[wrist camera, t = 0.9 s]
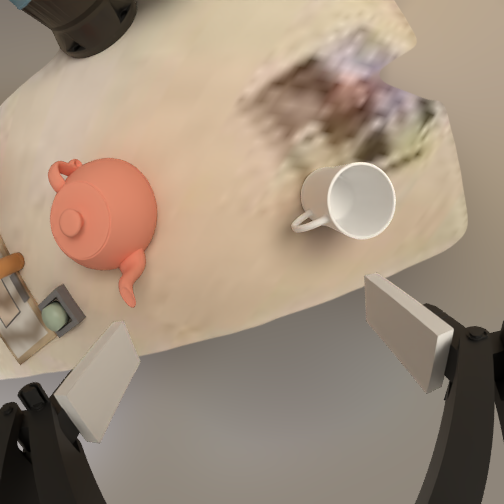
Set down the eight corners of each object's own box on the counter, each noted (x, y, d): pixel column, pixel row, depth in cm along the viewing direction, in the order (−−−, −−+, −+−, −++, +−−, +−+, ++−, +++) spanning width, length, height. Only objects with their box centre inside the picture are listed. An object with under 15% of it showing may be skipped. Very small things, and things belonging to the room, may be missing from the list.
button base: (44, 301, 41) (37, 306, 38) (63, 284, 40) (55, 288, 37) (65, 331, 42) (59, 337, 40) (85, 316, 41) (79, 323, 39)
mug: (293, 244, 40) (314, 268, 28) (269, 189, 38) (281, 190, 26) (364, 212, 39) (407, 222, 27) (343, 158, 37) (381, 148, 25)
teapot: (201, 244, 39) (183, 269, 27) (127, 302, 41) (93, 340, 29) (116, 128, 35) (72, 110, 23) (53, 195, 37) (3, 202, 24)
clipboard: (-29, 279, 39) (-32, 281, 38) (-1, 232, 37) (-6, 233, 36) (22, 363, 44) (19, 366, 43) (58, 334, 42) (54, 337, 41)
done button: (46, 307, 39) (37, 314, 36) (58, 296, 39) (49, 303, 36) (60, 327, 40) (52, 335, 37) (72, 317, 40) (64, 325, 37)
